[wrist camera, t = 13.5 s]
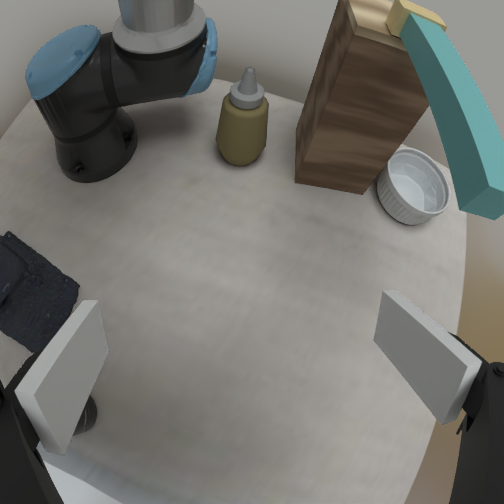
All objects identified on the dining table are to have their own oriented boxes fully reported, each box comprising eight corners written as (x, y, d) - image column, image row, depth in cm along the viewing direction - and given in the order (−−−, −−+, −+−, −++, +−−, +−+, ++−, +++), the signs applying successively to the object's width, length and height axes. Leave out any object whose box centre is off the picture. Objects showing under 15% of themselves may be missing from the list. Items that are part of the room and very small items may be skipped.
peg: (498, 224, 17) (532, 200, 13) (447, 209, 16) (483, 179, 13) (425, 37, 25) (437, 14, 21) (385, 21, 24) (396, -4, 21)
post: (362, 194, 52) (457, 64, 24) (294, 182, 51) (358, 25, 23) (357, 141, 56) (426, 16, 28) (296, 129, 56) (343, -14, 28)
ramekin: (374, 157, 56) (390, 135, 49) (431, 184, 55) (450, 166, 49) (365, 214, 51) (384, 194, 45) (428, 242, 51) (451, 226, 44)
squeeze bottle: (241, 180, 50) (254, 98, 34) (205, 153, 52) (204, 69, 35) (273, 152, 53) (294, 72, 36) (237, 127, 54) (246, 46, 37)
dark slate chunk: (45, 373, 37) (29, 372, 33) (-33, 299, 38) (-49, 292, 34) (89, 286, 43) (77, 277, 38) (5, 226, 44) (-9, 215, 39)
